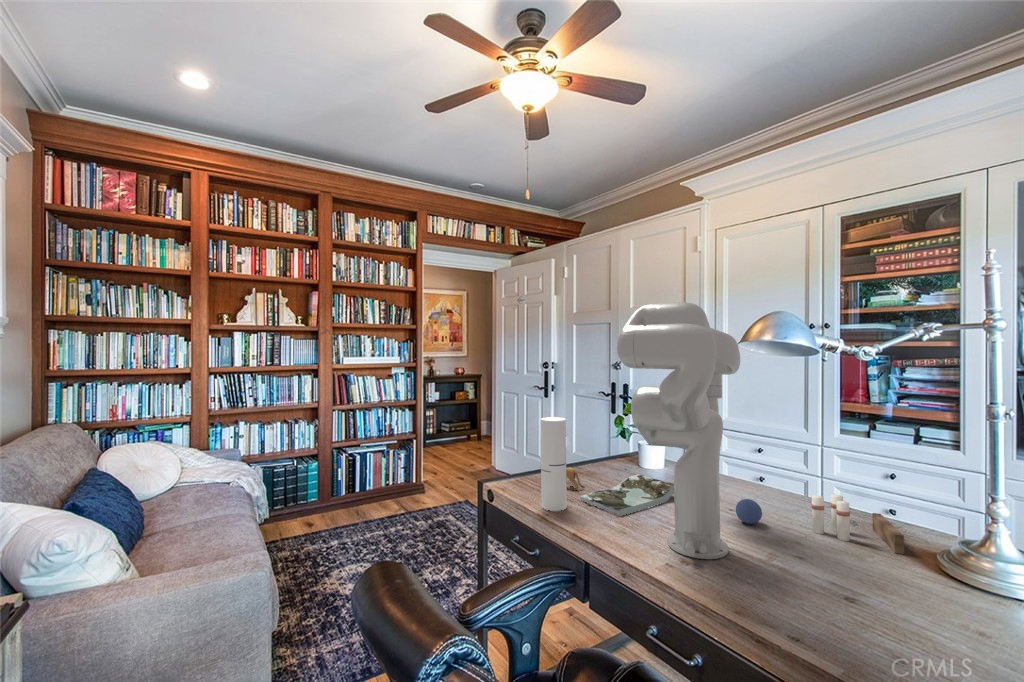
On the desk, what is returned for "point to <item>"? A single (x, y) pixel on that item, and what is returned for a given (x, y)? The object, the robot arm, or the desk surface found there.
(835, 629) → the desk surface
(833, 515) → the rear pin far
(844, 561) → the desk surface
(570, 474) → the lion figurine
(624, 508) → the topographical model
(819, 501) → the front pin
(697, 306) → the robot arm
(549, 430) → the cylindrical container
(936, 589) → the desk surface
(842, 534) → the rear pin near
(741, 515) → the ball
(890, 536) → the stopper rail
